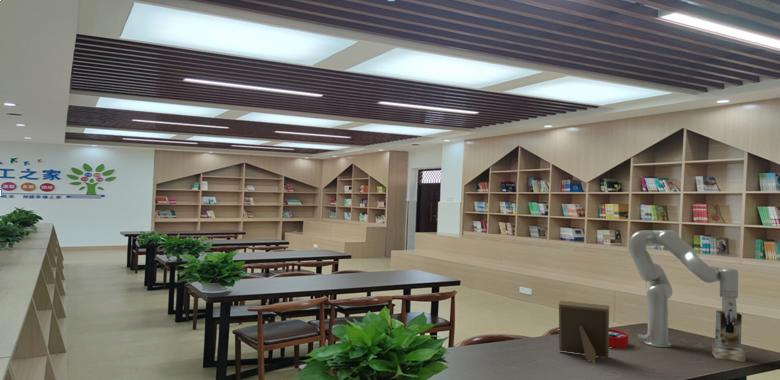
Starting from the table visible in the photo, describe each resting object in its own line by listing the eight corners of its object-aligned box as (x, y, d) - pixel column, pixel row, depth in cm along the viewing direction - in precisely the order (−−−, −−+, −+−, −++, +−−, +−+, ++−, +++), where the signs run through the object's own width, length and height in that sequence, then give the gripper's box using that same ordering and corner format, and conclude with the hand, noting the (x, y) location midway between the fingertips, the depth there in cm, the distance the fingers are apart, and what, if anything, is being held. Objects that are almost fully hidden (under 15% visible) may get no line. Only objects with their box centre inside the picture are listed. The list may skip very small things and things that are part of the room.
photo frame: (560, 350, 257) (561, 298, 258) (608, 356, 248) (609, 303, 249) (556, 357, 244) (557, 303, 244) (607, 365, 235) (608, 309, 235)
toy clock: (585, 326, 286) (625, 330, 281) (585, 337, 286) (625, 341, 280) (588, 335, 267) (631, 339, 261) (587, 346, 267) (630, 350, 261)
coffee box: (720, 346, 252) (720, 313, 253) (714, 343, 258) (715, 310, 259) (741, 348, 250) (742, 314, 251) (735, 345, 256) (736, 312, 257)
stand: (715, 358, 251) (715, 349, 251) (712, 352, 261) (712, 344, 261) (745, 361, 246) (745, 353, 247) (740, 356, 257) (740, 347, 257)
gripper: (741, 297, 245) (741, 335, 245) (734, 292, 261) (733, 328, 261) (722, 295, 248) (722, 333, 248) (716, 290, 264) (716, 326, 264)
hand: (728, 330), depth 254 cm, fingers closed on coffee box, 7 cm apart
